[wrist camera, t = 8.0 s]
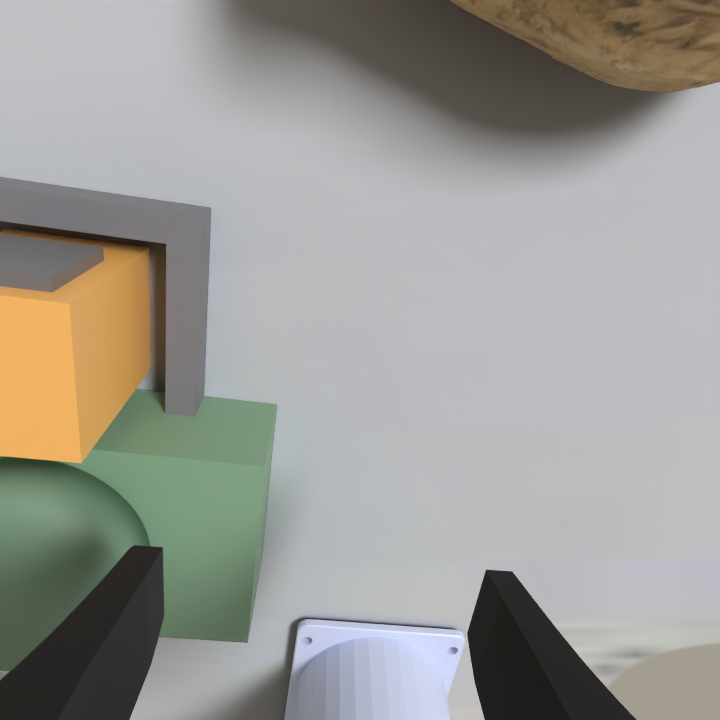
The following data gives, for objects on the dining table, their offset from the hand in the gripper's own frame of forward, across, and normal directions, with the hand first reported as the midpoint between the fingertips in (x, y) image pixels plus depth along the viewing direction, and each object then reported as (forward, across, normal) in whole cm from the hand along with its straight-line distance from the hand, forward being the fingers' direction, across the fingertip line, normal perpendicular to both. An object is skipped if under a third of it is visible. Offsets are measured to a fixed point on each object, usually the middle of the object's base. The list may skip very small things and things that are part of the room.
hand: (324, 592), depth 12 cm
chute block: (+9, +9, -3) cm, 13 cm away
